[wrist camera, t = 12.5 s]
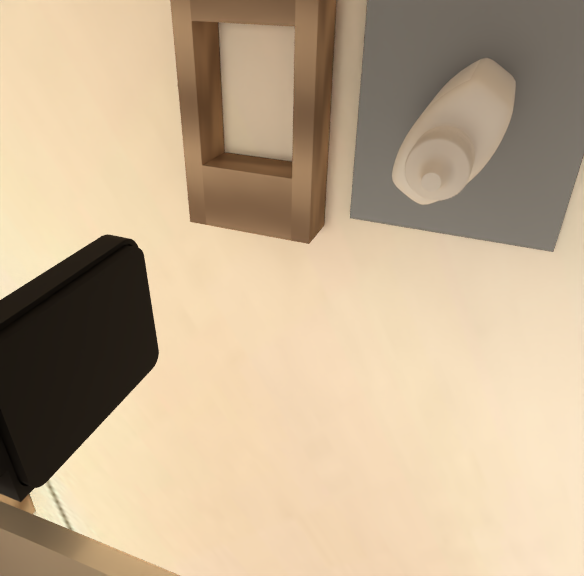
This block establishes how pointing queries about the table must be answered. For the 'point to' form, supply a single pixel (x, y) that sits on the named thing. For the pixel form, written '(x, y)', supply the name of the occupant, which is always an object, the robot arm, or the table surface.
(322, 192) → the frame
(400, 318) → the table surface
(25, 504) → the box frame
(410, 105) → the rubber pad
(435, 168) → the eye dropper bottle
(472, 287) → the table surface
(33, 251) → the table surface
